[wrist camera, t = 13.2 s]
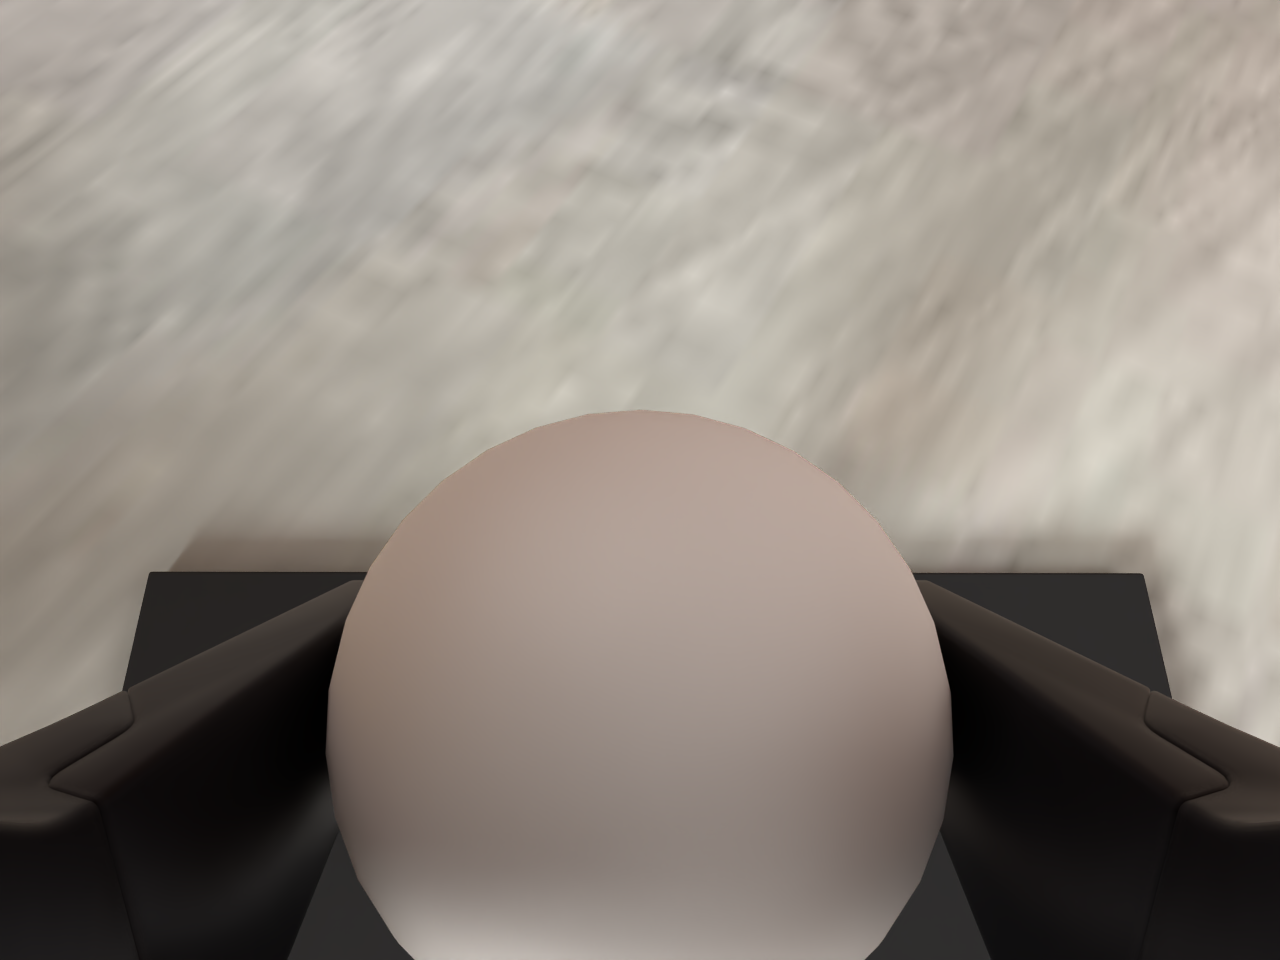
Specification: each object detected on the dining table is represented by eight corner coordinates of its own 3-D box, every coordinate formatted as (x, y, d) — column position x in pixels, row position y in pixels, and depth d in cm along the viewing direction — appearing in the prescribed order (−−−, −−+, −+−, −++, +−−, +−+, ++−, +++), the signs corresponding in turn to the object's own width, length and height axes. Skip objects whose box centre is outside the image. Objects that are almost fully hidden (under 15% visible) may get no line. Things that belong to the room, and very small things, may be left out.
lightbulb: (682, 571, 18) (733, 176, 8) (877, 843, 16) (1258, 748, 6) (411, 743, 17) (85, 515, 7) (585, 1066, 15) (477, 1407, 5)
